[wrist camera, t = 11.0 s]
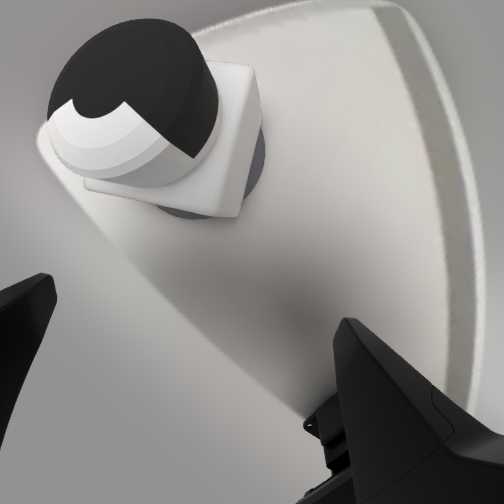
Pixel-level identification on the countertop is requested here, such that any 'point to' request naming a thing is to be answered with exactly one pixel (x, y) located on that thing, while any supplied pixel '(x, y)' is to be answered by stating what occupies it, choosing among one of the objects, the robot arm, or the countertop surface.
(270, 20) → the countertop surface
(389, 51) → the countertop surface
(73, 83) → the medicine bottle
